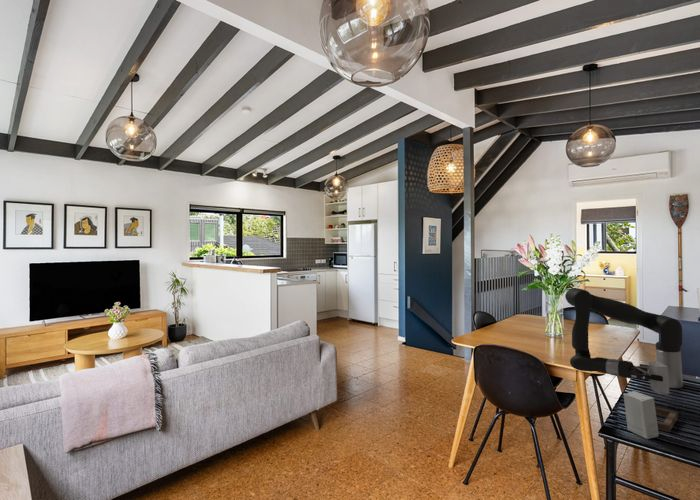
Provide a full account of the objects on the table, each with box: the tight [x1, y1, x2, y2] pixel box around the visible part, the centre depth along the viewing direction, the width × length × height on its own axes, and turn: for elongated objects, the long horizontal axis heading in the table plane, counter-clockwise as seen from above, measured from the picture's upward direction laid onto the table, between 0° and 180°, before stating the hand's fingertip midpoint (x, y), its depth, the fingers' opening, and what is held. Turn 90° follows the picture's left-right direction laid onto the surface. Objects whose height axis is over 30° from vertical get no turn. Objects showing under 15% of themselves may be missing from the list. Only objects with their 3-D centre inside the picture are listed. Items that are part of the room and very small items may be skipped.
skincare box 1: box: [623, 390, 660, 440], centre depth 147 cm, size 8×6×15 cm
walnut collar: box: [624, 406, 679, 433], centre depth 156 cm, size 15×14×2 cm
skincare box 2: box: [648, 361, 670, 395], centre depth 164 cm, size 6×4×12 cm
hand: (665, 376), depth 163 cm, fingers closed on skincare box 2, 7 cm apart
